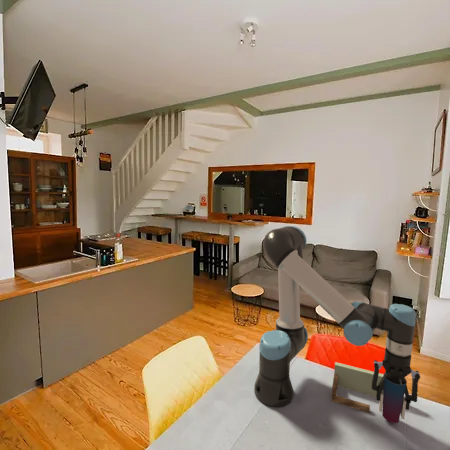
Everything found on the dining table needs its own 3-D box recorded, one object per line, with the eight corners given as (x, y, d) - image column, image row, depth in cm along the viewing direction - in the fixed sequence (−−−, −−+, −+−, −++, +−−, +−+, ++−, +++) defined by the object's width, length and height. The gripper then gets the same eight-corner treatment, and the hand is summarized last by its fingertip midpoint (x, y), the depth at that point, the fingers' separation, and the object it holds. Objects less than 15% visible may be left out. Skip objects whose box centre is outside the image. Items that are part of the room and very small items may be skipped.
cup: (405, 427, 94) (410, 386, 92) (383, 423, 96) (387, 383, 94) (397, 411, 101) (401, 373, 99) (376, 408, 102) (380, 370, 100)
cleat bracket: (331, 401, 107) (331, 389, 107) (333, 384, 116) (334, 373, 116) (369, 413, 102) (370, 400, 101) (368, 395, 111) (369, 383, 110)
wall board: (333, 384, 116) (334, 364, 115) (334, 382, 118) (335, 362, 117) (401, 404, 106) (403, 382, 105) (400, 401, 108) (403, 379, 106)
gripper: (367, 348, 96) (360, 410, 99) (435, 365, 88) (426, 431, 91) (366, 338, 102) (361, 396, 106) (429, 352, 94) (421, 414, 97)
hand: (391, 412), depth 98 cm, fingers closed on cup, 6 cm apart
